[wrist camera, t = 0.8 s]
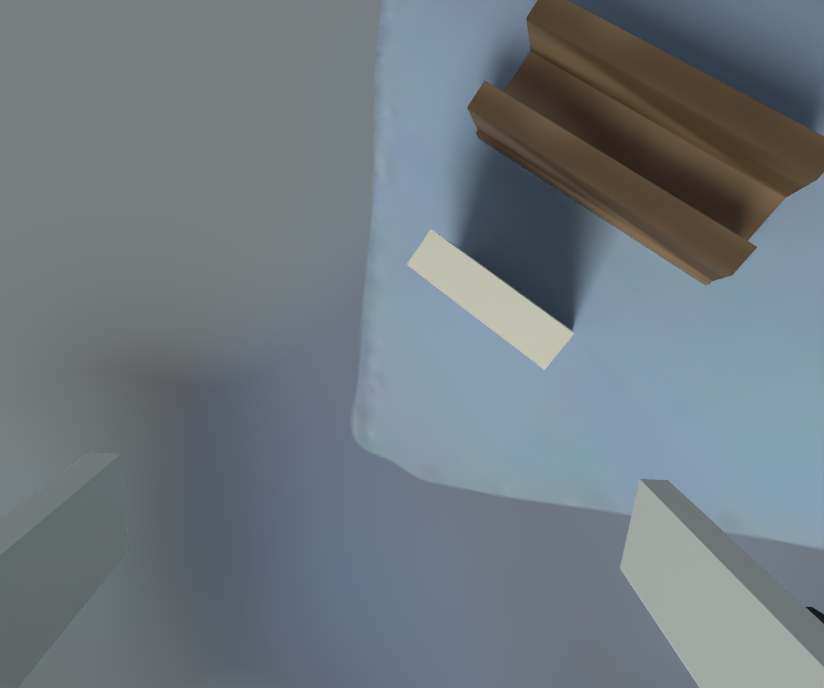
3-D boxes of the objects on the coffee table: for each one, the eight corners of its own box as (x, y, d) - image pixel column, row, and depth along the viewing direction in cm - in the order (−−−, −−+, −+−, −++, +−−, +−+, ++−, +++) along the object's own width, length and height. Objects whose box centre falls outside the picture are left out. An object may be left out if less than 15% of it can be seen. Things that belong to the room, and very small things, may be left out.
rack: (550, 30, 34) (548, -16, 30) (804, 172, 30) (848, 143, 25) (478, 138, 37) (465, 110, 32) (705, 285, 32) (729, 278, 27)
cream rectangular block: (469, 255, 37) (431, 229, 27) (572, 330, 35) (574, 333, 25) (451, 280, 38) (406, 264, 27) (551, 355, 36) (544, 369, 25)
